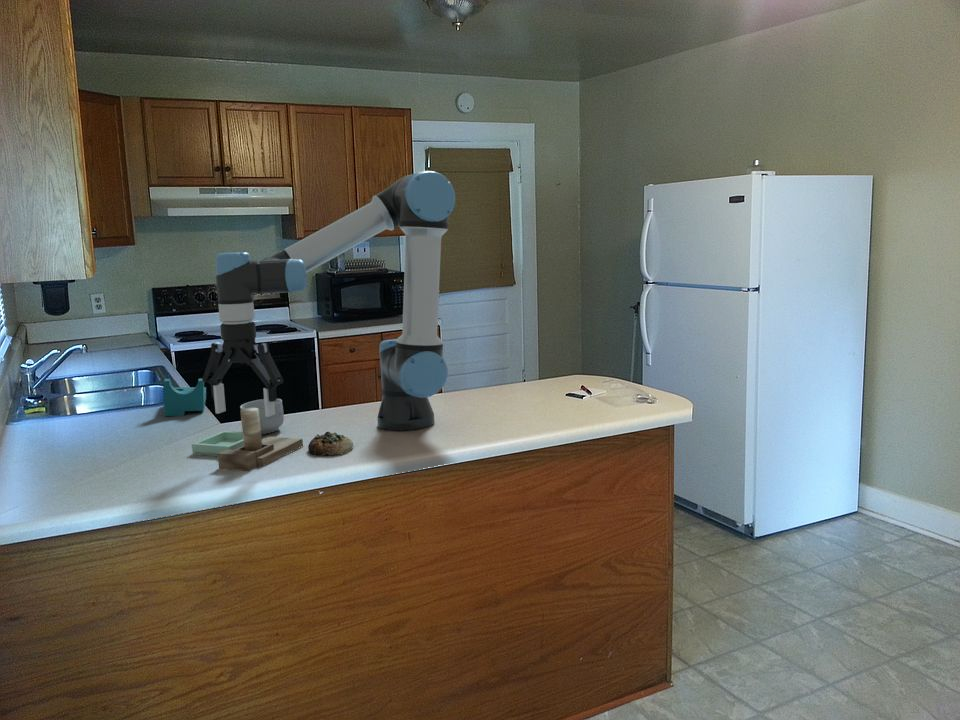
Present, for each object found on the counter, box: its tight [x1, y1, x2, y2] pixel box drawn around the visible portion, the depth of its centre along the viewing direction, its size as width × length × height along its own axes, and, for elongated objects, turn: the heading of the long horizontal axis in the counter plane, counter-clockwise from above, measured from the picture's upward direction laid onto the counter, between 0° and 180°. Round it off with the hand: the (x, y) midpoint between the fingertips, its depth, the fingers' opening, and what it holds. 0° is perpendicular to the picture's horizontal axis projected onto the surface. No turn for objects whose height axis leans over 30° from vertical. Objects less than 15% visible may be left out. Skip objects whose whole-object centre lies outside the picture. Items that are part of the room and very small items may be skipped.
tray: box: [191, 430, 244, 457], centre depth 189 cm, size 11×12×2 cm
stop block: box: [217, 450, 257, 472], centre depth 173 cm, size 8×3×4 cm, turn 70°
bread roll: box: [307, 431, 354, 456], centre depth 184 cm, size 11×11×5 cm
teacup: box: [239, 398, 285, 435], centre depth 204 cm, size 14×11×8 cm
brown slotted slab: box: [235, 436, 304, 467], centre depth 183 cm, size 10×16×4 cm, turn 159°
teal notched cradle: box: [163, 378, 207, 417], centre depth 234 cm, size 18×11×10 cm, turn 17°
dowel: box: [240, 408, 263, 451], centre depth 178 cm, size 4×4×10 cm
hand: (245, 413), depth 176 cm, fingers open, 13 cm apart
